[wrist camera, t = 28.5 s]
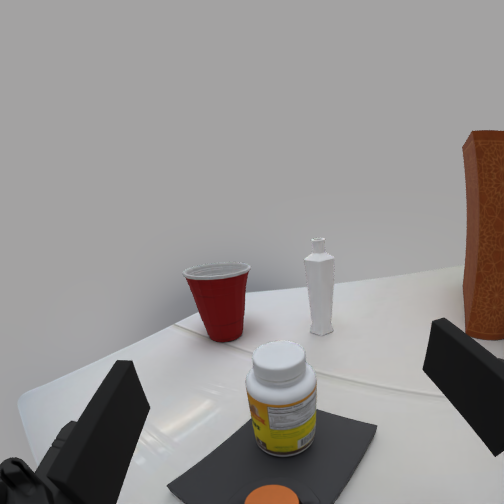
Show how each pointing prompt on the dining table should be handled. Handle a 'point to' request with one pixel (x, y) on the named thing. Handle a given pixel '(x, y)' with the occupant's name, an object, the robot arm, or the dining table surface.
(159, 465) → the dining table surface
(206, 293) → the plastic cup
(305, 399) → the supplement bottle
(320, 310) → the perfume bottle
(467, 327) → the book
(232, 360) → the dining table surface
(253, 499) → the button
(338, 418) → the scale
